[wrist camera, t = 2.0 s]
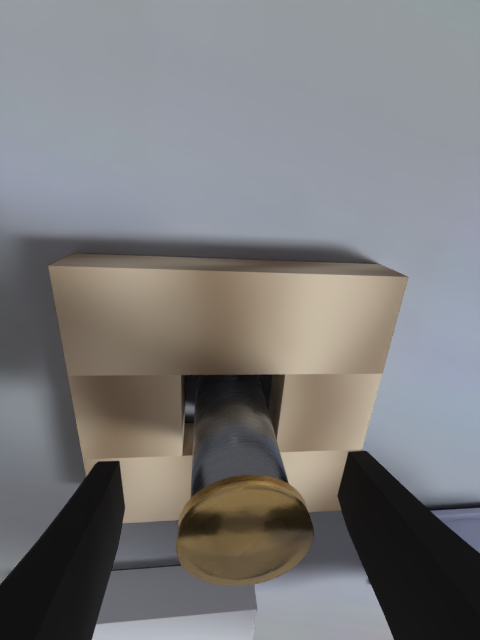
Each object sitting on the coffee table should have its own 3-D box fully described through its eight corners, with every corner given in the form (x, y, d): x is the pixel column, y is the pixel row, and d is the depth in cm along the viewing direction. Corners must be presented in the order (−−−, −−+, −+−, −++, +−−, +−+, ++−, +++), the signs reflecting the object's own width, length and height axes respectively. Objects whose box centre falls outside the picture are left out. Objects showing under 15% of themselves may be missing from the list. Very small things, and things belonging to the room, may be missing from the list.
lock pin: (270, 353, 14) (323, 492, 8) (263, 417, 16) (304, 580, 9) (188, 353, 14) (174, 499, 7) (189, 419, 15) (177, 591, 9)
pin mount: (379, 264, 13) (408, 276, 11) (330, 476, 18) (345, 510, 16) (72, 252, 12) (48, 265, 10) (107, 486, 16) (94, 525, 14)
